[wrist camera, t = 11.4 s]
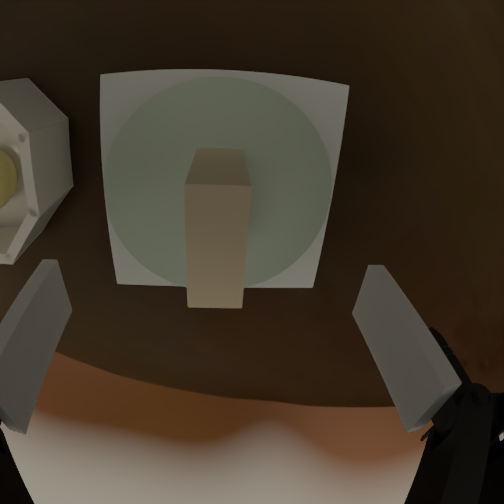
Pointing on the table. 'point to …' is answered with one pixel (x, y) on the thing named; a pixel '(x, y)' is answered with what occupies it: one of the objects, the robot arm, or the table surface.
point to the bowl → (30, 164)
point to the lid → (217, 186)
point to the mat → (293, 88)
